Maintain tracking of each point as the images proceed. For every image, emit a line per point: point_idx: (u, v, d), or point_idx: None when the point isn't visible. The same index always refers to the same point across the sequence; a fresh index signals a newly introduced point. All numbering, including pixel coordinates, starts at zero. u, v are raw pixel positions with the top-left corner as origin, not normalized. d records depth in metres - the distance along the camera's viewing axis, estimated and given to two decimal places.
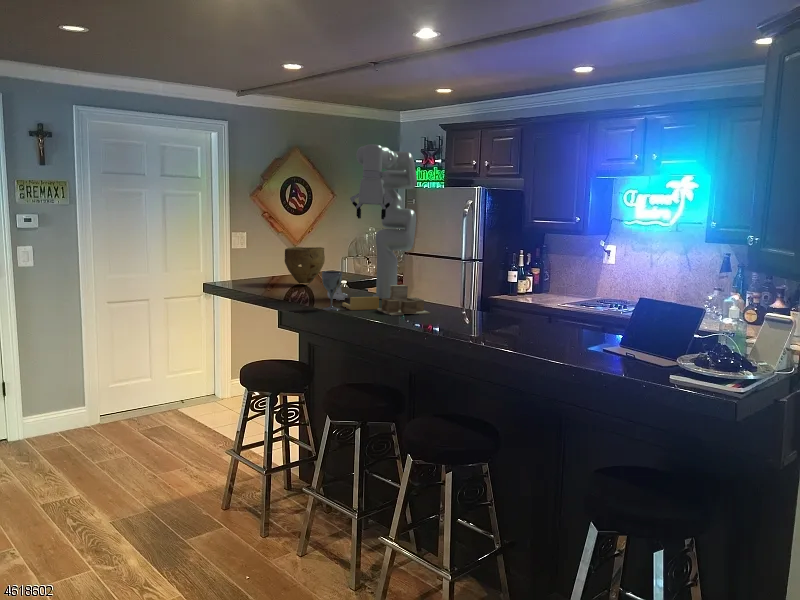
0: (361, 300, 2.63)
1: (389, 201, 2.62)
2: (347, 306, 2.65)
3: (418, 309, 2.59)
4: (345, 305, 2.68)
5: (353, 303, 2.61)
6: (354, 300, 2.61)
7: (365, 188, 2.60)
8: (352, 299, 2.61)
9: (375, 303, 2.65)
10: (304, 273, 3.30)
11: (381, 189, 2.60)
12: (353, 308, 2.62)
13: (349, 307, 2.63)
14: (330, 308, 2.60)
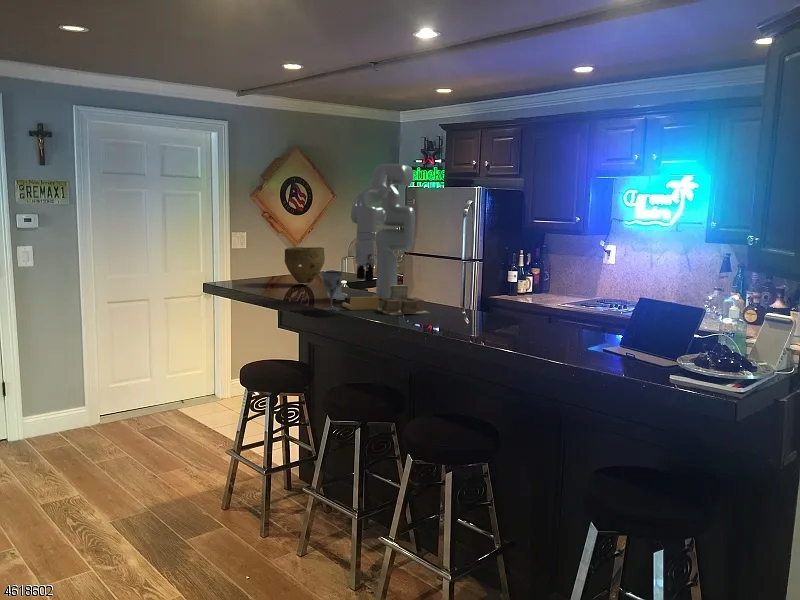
0: (361, 300, 2.63)
1: None
2: (347, 306, 2.65)
3: (418, 309, 2.59)
4: (345, 305, 2.68)
5: (353, 303, 2.61)
6: (354, 300, 2.61)
7: None
8: (352, 299, 2.61)
9: (375, 303, 2.65)
10: (304, 273, 3.30)
11: None
12: (353, 308, 2.62)
13: (349, 307, 2.63)
14: (330, 308, 2.60)
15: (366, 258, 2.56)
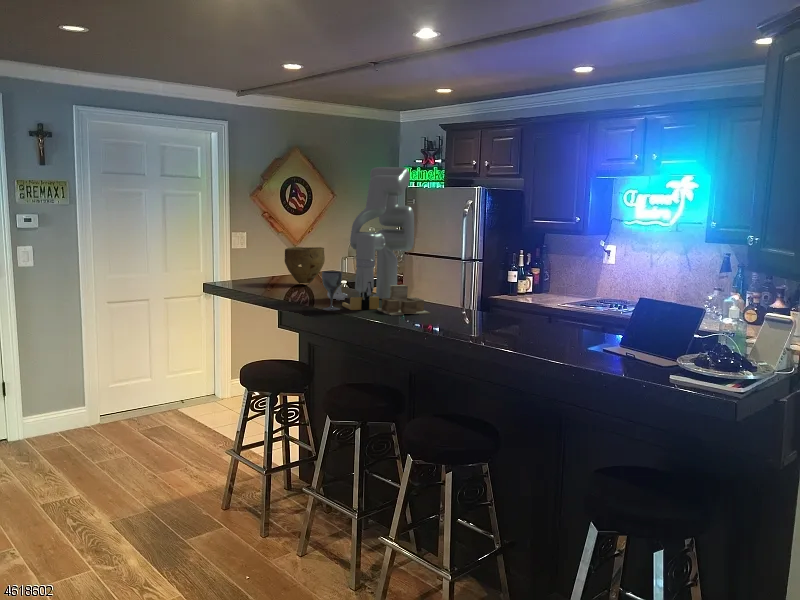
0: (361, 300, 2.63)
1: None
2: (347, 306, 2.65)
3: (418, 309, 2.59)
4: (345, 305, 2.68)
5: (353, 303, 2.61)
6: (354, 300, 2.61)
7: None
8: (352, 299, 2.61)
9: (375, 303, 2.65)
10: (304, 273, 3.30)
11: None
12: (353, 308, 2.62)
13: (349, 307, 2.63)
14: (330, 308, 2.60)
15: (366, 285, 2.58)
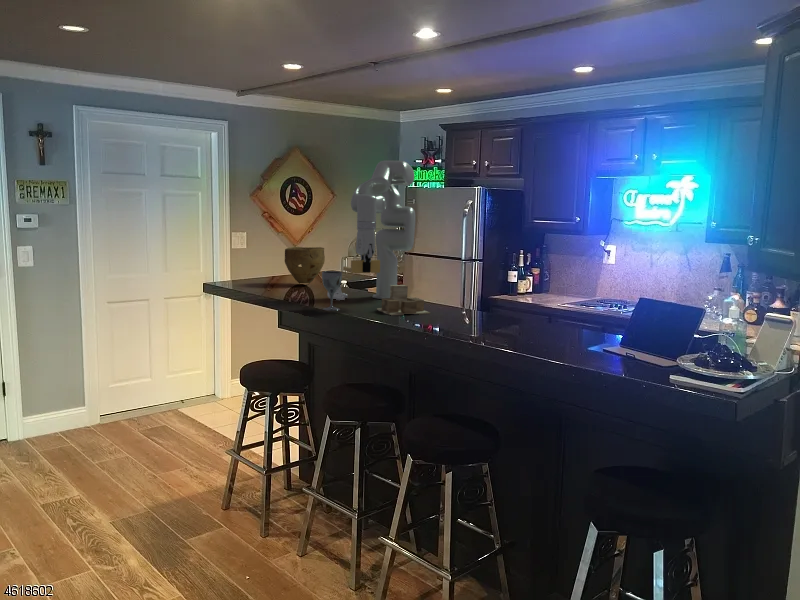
0: (362, 263, 2.61)
1: None
2: (348, 269, 2.64)
3: (418, 309, 2.59)
4: (346, 269, 2.66)
5: (354, 266, 2.60)
6: (355, 263, 2.60)
7: None
8: (353, 262, 2.59)
9: (376, 266, 2.64)
10: (304, 273, 3.30)
11: None
12: (354, 271, 2.60)
13: (350, 270, 2.61)
14: (330, 308, 2.60)
15: (367, 248, 2.56)
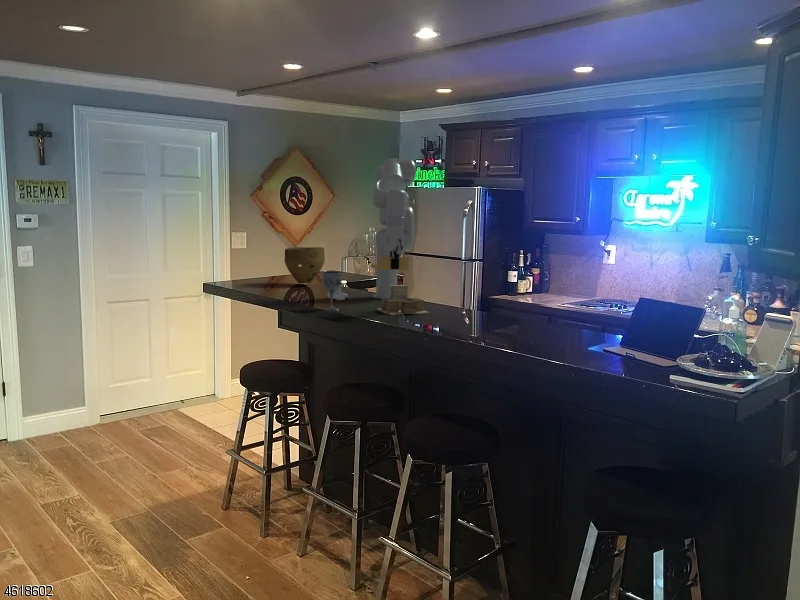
0: None
1: None
2: (376, 266, 2.57)
3: (418, 309, 2.59)
4: (373, 266, 2.60)
5: (382, 262, 2.53)
6: (383, 259, 2.53)
7: None
8: (381, 258, 2.53)
9: (404, 263, 2.57)
10: (304, 273, 3.30)
11: None
12: (382, 268, 2.54)
13: (378, 267, 2.55)
14: (330, 308, 2.60)
15: (396, 243, 2.50)
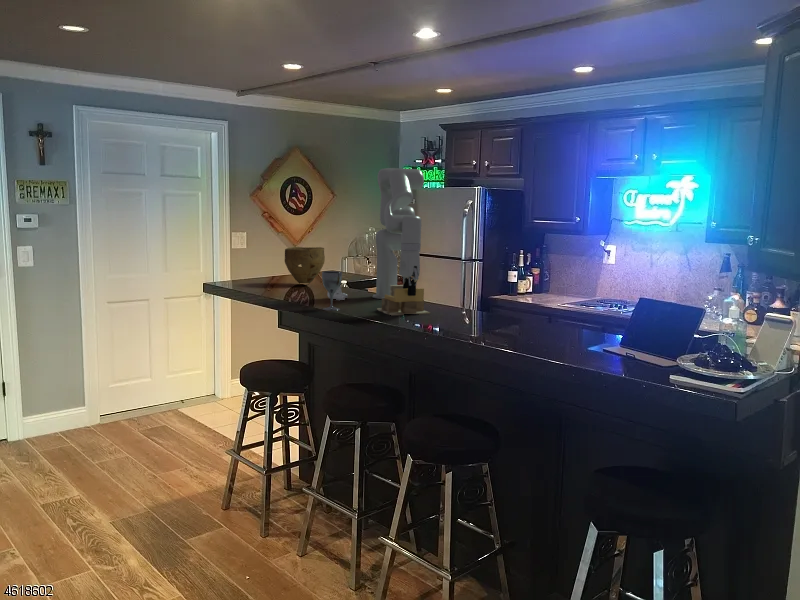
0: (406, 291, 2.53)
1: None
2: (391, 298, 2.56)
3: (418, 309, 2.59)
4: (388, 297, 2.58)
5: (398, 295, 2.52)
6: (399, 291, 2.52)
7: None
8: (397, 291, 2.52)
9: (420, 295, 2.56)
10: (304, 273, 3.30)
11: None
12: (398, 300, 2.52)
13: (393, 299, 2.54)
14: (330, 308, 2.60)
15: (412, 270, 2.48)
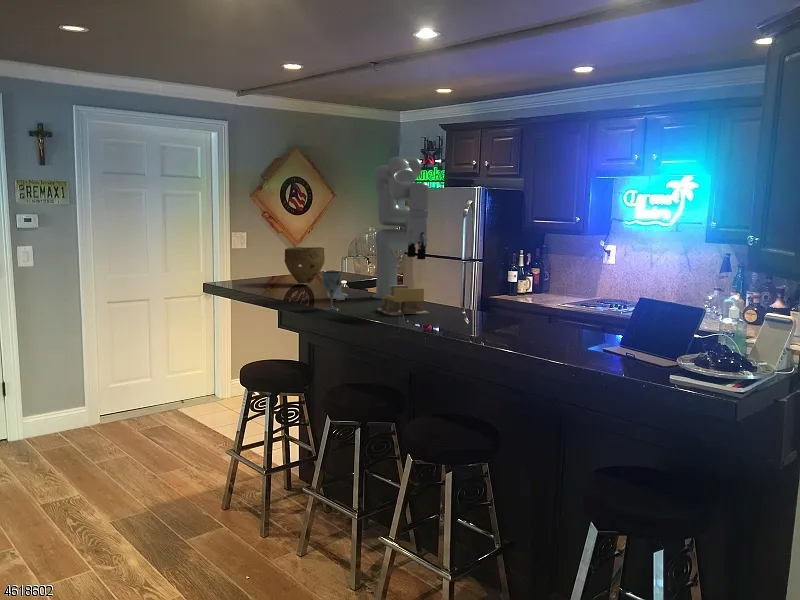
0: (406, 291, 2.53)
1: None
2: (391, 298, 2.56)
3: (418, 309, 2.59)
4: (388, 297, 2.58)
5: (398, 295, 2.52)
6: (399, 291, 2.52)
7: None
8: (397, 291, 2.52)
9: (420, 295, 2.56)
10: (304, 273, 3.30)
11: None
12: (398, 300, 2.52)
13: (393, 299, 2.54)
14: (330, 308, 2.60)
15: (419, 236, 2.51)
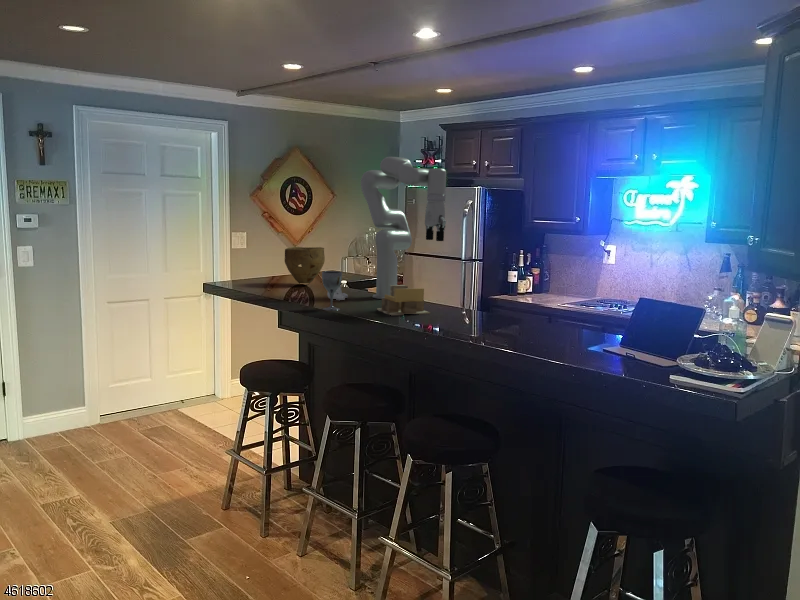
0: (406, 291, 2.53)
1: None
2: (391, 298, 2.56)
3: (418, 309, 2.59)
4: (388, 297, 2.58)
5: (398, 295, 2.52)
6: (399, 291, 2.52)
7: None
8: (397, 291, 2.52)
9: (420, 295, 2.56)
10: (304, 273, 3.30)
11: None
12: (398, 300, 2.52)
13: (393, 299, 2.54)
14: (330, 308, 2.60)
15: (437, 219, 2.65)
